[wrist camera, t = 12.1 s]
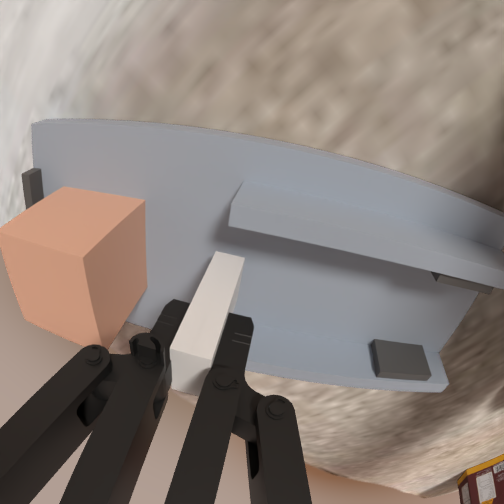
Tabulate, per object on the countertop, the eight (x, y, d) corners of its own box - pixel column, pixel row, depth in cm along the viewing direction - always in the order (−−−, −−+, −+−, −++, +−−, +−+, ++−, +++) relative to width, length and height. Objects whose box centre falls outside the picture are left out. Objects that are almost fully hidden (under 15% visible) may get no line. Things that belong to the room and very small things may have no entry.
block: (63, 186, 16) (-4, 230, 11) (145, 199, 16) (82, 257, 11) (74, 265, 19) (25, 319, 14) (147, 286, 19) (104, 354, 14)
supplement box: (510, 458, 38) (519, 508, 24) (456, 480, 42) (462, 533, 29) (524, 443, 33) (536, 499, 20) (465, 469, 38) (473, 529, 24)
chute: (46, 119, 15) (-3, 135, 11) (502, 212, 14) (540, 247, 10) (67, 287, 23) (37, 320, 19) (415, 363, 21) (426, 407, 18)
